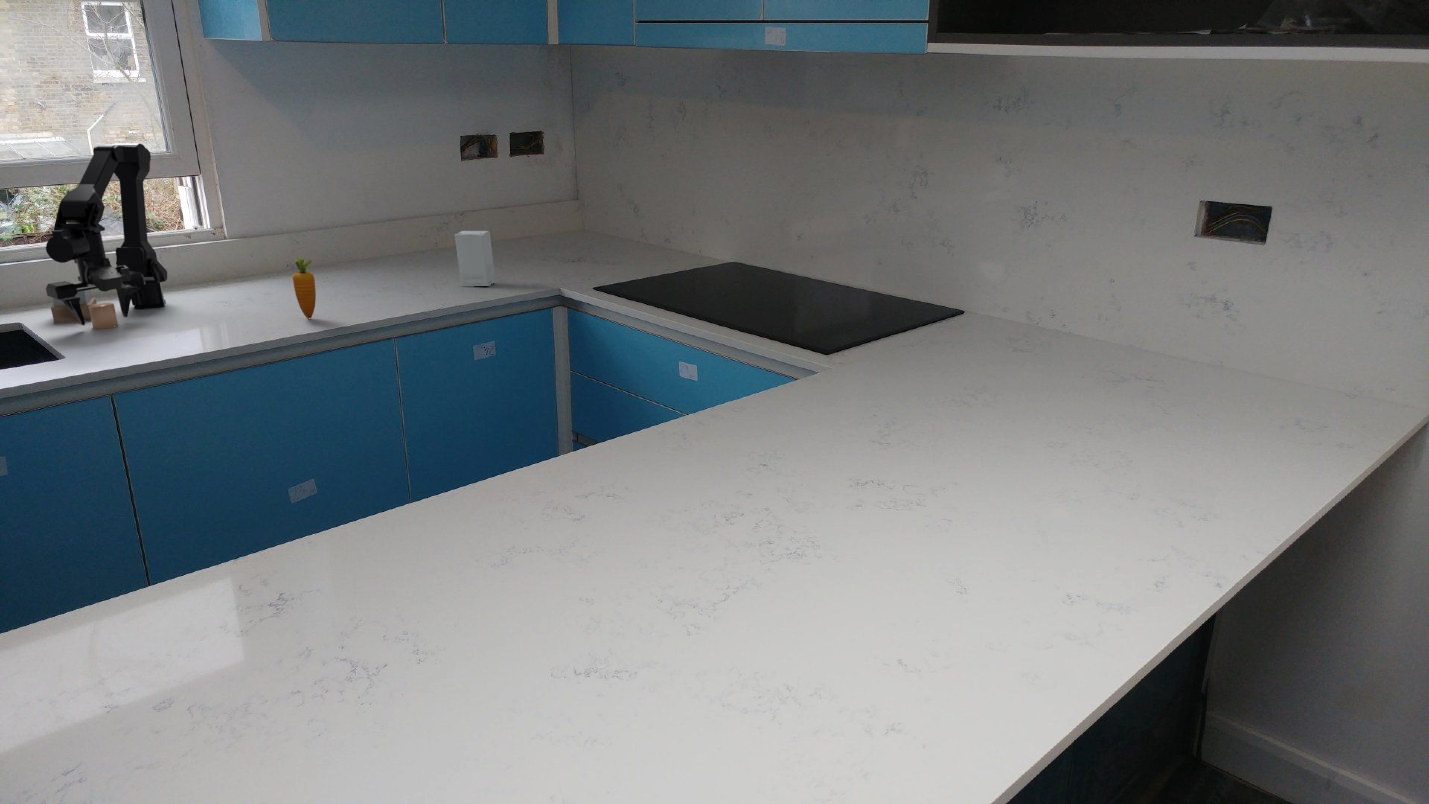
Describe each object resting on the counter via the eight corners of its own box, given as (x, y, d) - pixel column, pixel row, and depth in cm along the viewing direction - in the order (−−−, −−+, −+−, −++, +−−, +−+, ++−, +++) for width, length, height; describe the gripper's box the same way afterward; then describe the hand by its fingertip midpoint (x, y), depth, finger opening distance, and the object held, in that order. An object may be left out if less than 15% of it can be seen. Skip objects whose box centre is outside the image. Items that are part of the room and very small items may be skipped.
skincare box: (495, 283, 265) (492, 230, 260) (487, 288, 259) (483, 234, 254) (467, 282, 266) (463, 229, 261) (458, 286, 260) (454, 232, 255)
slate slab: (91, 298, 229) (88, 281, 227) (86, 304, 223) (83, 287, 222) (60, 300, 226) (56, 283, 225) (54, 306, 221) (50, 289, 219)
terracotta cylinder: (119, 322, 222) (114, 301, 220) (117, 327, 217) (112, 306, 216) (94, 324, 220) (89, 304, 218) (91, 330, 215) (87, 308, 214)
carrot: (301, 316, 228) (293, 255, 223) (323, 316, 229) (314, 255, 224) (295, 321, 224) (285, 259, 219) (316, 321, 224) (308, 259, 219)
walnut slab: (98, 313, 231) (95, 297, 229) (94, 321, 224) (90, 304, 223) (60, 316, 227) (56, 300, 226) (54, 324, 221) (50, 307, 219)
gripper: (61, 264, 201) (77, 335, 207) (150, 251, 216) (163, 318, 221) (37, 258, 207) (53, 327, 212) (126, 246, 222) (139, 311, 227)
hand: (104, 321), depth 218 cm, fingers open, 9 cm apart
